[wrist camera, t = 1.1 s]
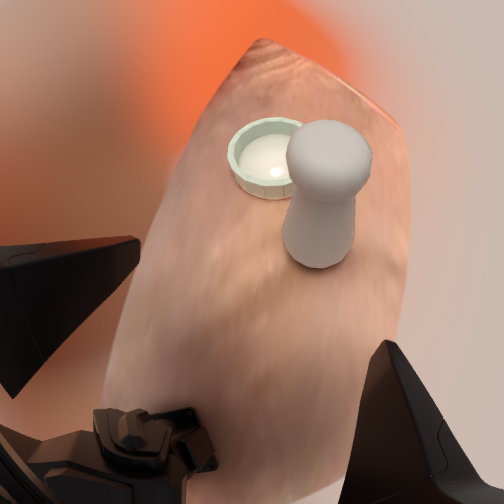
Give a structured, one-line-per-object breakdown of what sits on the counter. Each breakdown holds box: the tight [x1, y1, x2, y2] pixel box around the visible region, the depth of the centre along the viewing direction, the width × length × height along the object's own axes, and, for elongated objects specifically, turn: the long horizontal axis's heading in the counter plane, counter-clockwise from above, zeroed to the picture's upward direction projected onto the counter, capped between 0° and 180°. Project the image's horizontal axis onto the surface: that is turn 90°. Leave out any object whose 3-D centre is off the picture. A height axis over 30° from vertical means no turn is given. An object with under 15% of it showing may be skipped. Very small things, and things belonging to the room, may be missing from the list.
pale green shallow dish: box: [227, 117, 303, 200], centre depth 26 cm, size 9×9×2 cm
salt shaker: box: [282, 120, 372, 268], centre depth 17 cm, size 6×6×13 cm
